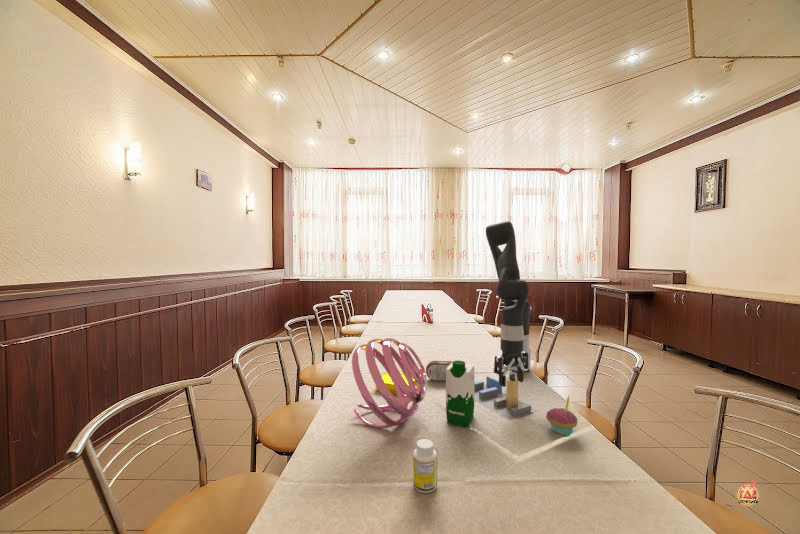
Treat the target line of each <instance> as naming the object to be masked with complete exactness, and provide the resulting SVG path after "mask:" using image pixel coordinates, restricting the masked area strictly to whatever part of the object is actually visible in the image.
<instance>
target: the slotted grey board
mask: <svg viewBox="0 0 800 534" xmlns="http://www.w3.org/2000/svg"><path fill="white" fill-rule="evenodd" d="M485 377H486V378H485V379H486V384H485V381H482V380H479V381H474V384H475V385H474V402H477V403H479V404H480V405H482V406H484V407H486V408H488V409H489V410H491V411H493V412H494V413H496V414H498V415H500V416H501V417H504V418H506V419H507V420H509V421H511V420H514V419H517V418H520V417H523V416H526V415H528V414H531V413H534V412H537V411H539V409H538V408H535V407H534V406H532V405H531V404H529V403H525V402H523V401H521V400H519V399H518V407H514V408H511V411H510V410H508V409H507V408H506V393H504V392H503V386H500V384H499V379H496V378H493V377H491V376H489V375H487V376H485Z"/></svg>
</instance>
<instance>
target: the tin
mask: <svg viewBox="0 0 800 534" xmlns="http://www.w3.org/2000/svg"><path fill="white" fill-rule="evenodd" d="M452 362H453V361H449V360H447V361H446V360H432V361H430V362H429V363H428V364H427V365H426V367H425V373H426V377H427V378H428V379H429V380H431V381H434V382H446V368H447V367H448V366H449V365H450V364H451V363H452Z"/></svg>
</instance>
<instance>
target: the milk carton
mask: <svg viewBox="0 0 800 534" xmlns="http://www.w3.org/2000/svg"><path fill="white" fill-rule="evenodd" d="M474 382H475V364H468V363H466V362H465V361H464V360H454V361H452V363H451V364H450V365H449V366H448V367H447V368H446V381H445V394H446V395H445V413H446V424H449V425H453V426H457V427H462V428H466V429H468V428H469V427H470V425H471V422H472V419H473V417H474V413H475V400H474V385H475V384H474Z"/></svg>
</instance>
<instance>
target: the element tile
mask: <svg viewBox="0 0 800 534" xmlns="http://www.w3.org/2000/svg"><path fill="white" fill-rule="evenodd" d="M399 372H400V374H401V376H402V377H403V379H404V380H405V382H406V383H407V384H408V382H407V380H406V377H405V375H404V373H403V372H402V370H399ZM381 377H382V379H383V380H384V382H385V384H386V386H387V387H388V389H389V390H390V392H391V393H392V395H396V394H397V391H396V389H395V386H394V384H393V382H392V380H391V378H390V376H389V374H388V373H387V371H385V373H384V374H382V375H381ZM412 378H413V377H412ZM413 381H414V383H415V386H416V387H418V385H419V384H418V383H417V382H416V381H415V380H414V379H413ZM408 385H409V384H408ZM375 390H377V391H376V392H379V390H378V388H377V386H376V385H375ZM397 396H398V394H397Z"/></svg>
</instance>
